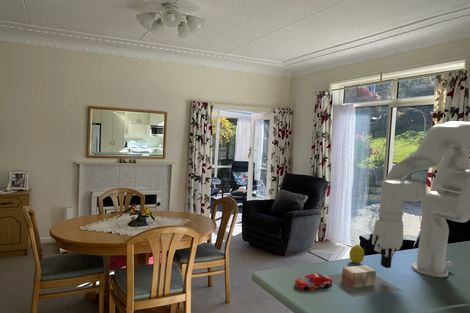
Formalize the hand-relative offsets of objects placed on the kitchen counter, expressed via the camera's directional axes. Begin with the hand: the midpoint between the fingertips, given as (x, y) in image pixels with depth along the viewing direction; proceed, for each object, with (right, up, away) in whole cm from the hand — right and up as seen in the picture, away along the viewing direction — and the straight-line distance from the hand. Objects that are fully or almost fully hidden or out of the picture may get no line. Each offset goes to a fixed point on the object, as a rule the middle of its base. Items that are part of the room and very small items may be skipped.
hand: (385, 266), depth 128 cm
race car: (-27, -5, -8) cm, 29 cm away
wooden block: (-6, -2, -2) cm, 7 cm away
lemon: (-5, -4, +16) cm, 17 cm away
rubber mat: (-10, -5, -3) cm, 12 cm away
